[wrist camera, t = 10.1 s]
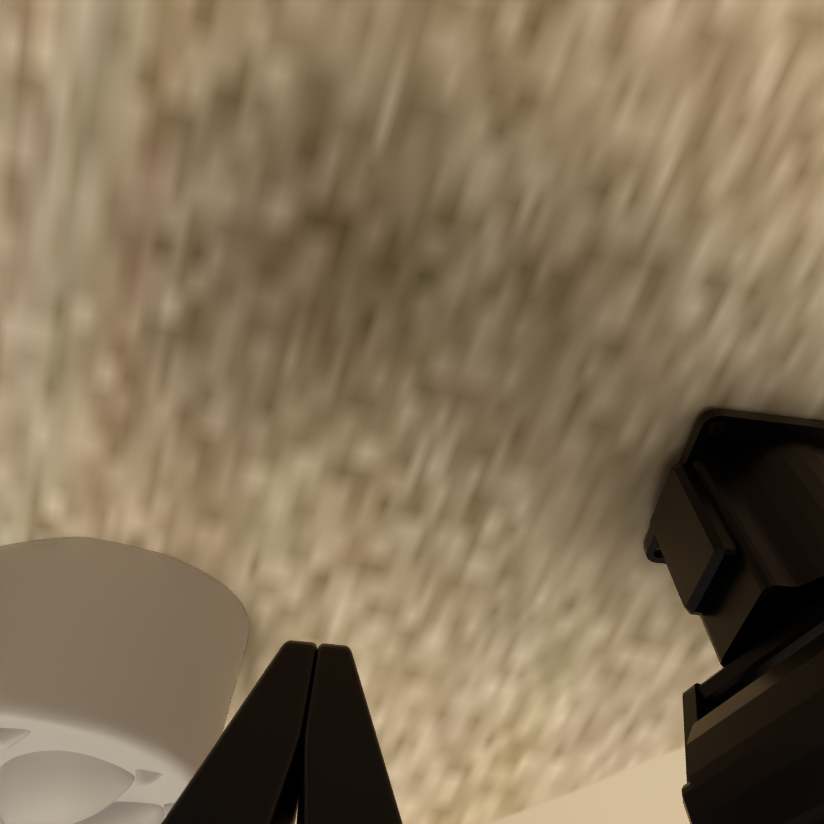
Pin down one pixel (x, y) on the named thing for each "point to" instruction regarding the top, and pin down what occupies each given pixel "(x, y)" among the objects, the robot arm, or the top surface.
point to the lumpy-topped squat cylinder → (109, 679)
